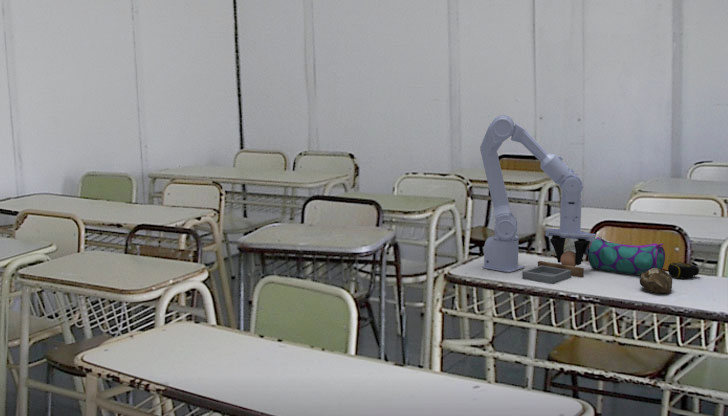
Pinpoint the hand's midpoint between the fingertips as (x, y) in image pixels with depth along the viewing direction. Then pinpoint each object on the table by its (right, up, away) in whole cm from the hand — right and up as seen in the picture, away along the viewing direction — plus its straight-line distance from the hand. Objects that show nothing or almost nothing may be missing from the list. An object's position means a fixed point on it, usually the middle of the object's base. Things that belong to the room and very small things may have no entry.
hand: (569, 263), depth 239 cm
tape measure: (+29, -3, -9) cm, 30 cm away
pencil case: (+15, -3, -3) cm, 15 cm away
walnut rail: (-3, -3, -3) cm, 5 cm away
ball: (0, +1, 0) cm, 1 cm away
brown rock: (+16, -6, -23) cm, 29 cm away
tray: (-8, -4, -8) cm, 12 cm away
